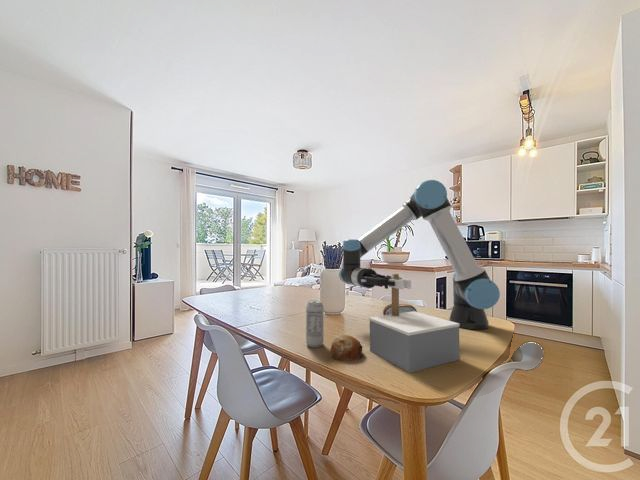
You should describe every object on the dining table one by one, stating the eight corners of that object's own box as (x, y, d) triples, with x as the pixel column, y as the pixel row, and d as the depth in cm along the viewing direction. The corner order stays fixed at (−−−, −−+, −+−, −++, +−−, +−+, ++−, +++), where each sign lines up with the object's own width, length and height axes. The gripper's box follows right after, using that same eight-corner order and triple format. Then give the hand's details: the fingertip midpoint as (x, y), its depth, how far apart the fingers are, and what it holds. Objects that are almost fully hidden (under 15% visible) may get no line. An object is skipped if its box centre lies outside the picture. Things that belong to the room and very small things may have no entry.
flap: (414, 313, 101) (414, 272, 102) (459, 326, 85) (458, 277, 85) (368, 319, 92) (368, 275, 93) (408, 335, 76) (408, 281, 76)
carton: (415, 341, 101) (415, 313, 101) (459, 359, 85) (459, 326, 85) (369, 350, 92) (369, 320, 92) (409, 372, 76) (409, 335, 76)
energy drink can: (325, 342, 100) (325, 300, 100) (320, 348, 94) (320, 304, 94) (309, 341, 101) (309, 299, 102) (303, 347, 95) (303, 303, 96)
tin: (417, 323, 126) (416, 304, 126) (418, 324, 123) (418, 305, 123) (383, 322, 127) (382, 303, 127) (383, 324, 124) (383, 305, 124)
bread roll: (335, 359, 94) (325, 337, 94) (363, 346, 94) (352, 325, 94) (336, 372, 84) (325, 348, 84) (367, 358, 84) (355, 334, 84)
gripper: (380, 285, 115) (424, 294, 94) (348, 288, 109) (387, 298, 88) (380, 267, 116) (423, 272, 94) (348, 269, 109) (387, 274, 88)
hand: (406, 284), depth 91 cm, fingers closed on flap, 2 cm apart
